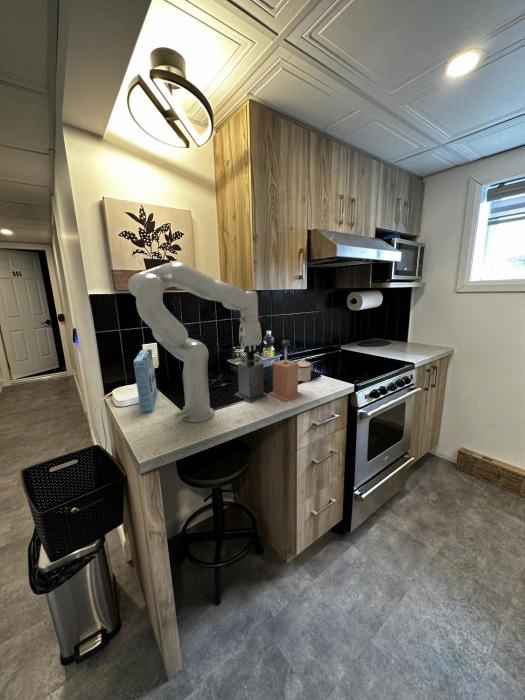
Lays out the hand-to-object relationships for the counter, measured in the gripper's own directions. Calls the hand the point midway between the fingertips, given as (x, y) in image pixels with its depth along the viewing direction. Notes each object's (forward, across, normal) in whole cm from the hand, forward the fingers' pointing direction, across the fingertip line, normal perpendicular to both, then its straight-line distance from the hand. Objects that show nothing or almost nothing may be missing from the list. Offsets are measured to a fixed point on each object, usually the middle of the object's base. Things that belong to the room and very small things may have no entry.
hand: (250, 359), depth 125 cm
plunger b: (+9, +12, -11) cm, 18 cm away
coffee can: (+19, +11, +13) cm, 25 cm away
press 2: (+18, +12, -11) cm, 24 cm away
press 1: (+18, 0, 0) cm, 18 cm away
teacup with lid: (+19, +35, -2) cm, 40 cm away
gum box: (+18, -38, +27) cm, 50 cm away
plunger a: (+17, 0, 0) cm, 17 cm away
